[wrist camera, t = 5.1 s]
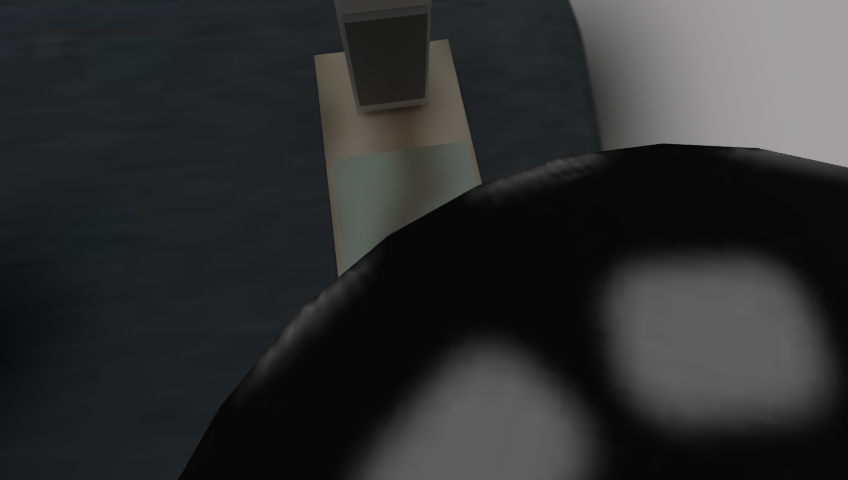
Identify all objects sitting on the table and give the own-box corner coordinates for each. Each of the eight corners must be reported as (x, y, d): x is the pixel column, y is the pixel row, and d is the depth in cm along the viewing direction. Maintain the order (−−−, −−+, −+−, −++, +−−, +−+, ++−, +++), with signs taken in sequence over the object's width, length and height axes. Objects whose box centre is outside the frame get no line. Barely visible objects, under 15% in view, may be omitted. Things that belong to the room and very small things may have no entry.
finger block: (358, 120, 31) (333, -1, 22) (349, 56, 33) (322, -81, 24) (428, 111, 32) (434, -12, 22) (415, 48, 34) (415, -90, 24)
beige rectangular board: (345, 298, 29) (339, 290, 27) (319, 74, 35) (313, 53, 33) (495, 274, 30) (501, 264, 28) (446, 58, 36) (447, 37, 34)
